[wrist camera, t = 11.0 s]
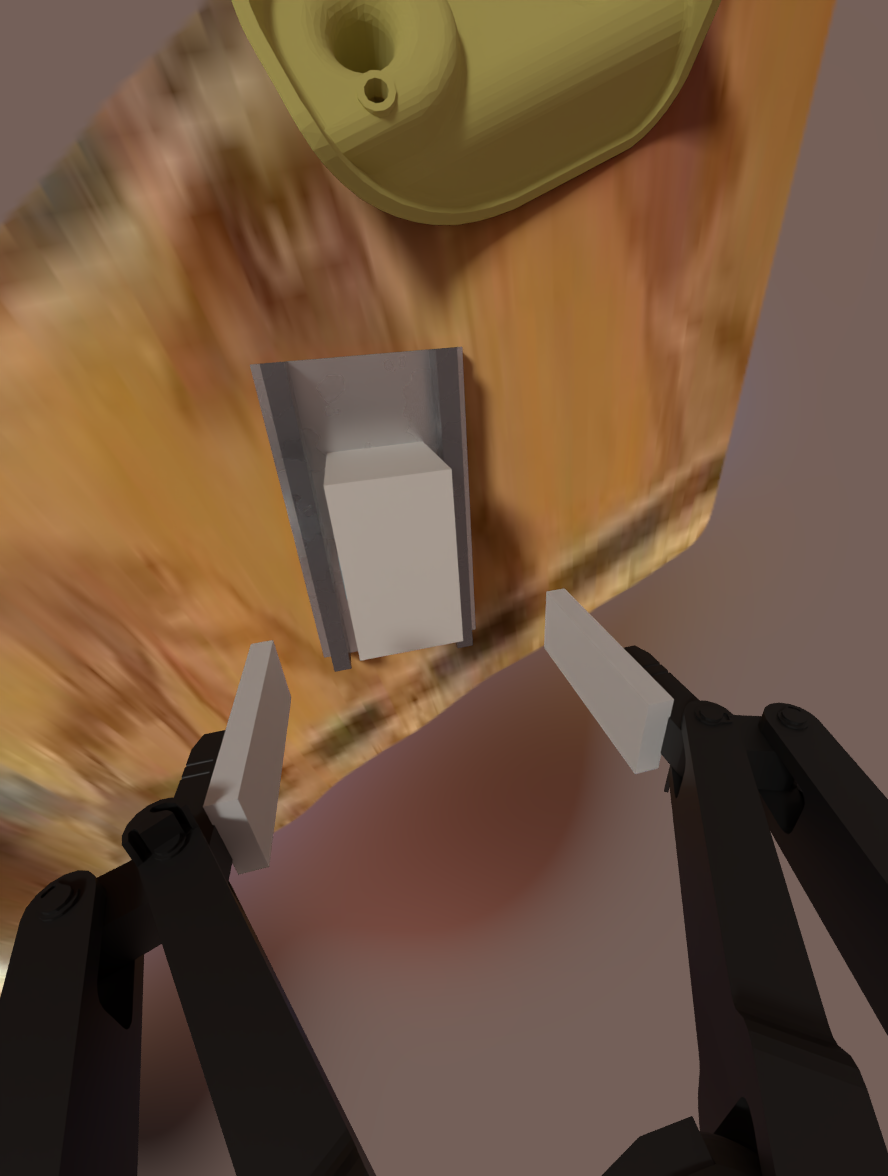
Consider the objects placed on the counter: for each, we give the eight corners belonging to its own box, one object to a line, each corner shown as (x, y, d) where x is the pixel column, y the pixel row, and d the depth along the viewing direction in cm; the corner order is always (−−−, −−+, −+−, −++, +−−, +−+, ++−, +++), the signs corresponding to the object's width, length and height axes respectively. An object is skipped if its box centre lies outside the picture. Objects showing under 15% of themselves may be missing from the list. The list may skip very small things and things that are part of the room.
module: (354, 594, 32) (359, 660, 25) (326, 452, 27) (322, 485, 20) (436, 580, 33) (464, 640, 26) (423, 441, 28) (452, 468, 21)
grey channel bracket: (324, 648, 35) (323, 673, 32) (253, 364, 25) (243, 365, 22) (471, 621, 36) (482, 643, 34) (457, 347, 27) (471, 346, 24)
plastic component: (655, -325, 16) (773, -61, 17) (579, -46, 24) (664, 130, 24) (174, -98, 15) (319, 171, 16) (251, 118, 23) (348, 296, 23)
